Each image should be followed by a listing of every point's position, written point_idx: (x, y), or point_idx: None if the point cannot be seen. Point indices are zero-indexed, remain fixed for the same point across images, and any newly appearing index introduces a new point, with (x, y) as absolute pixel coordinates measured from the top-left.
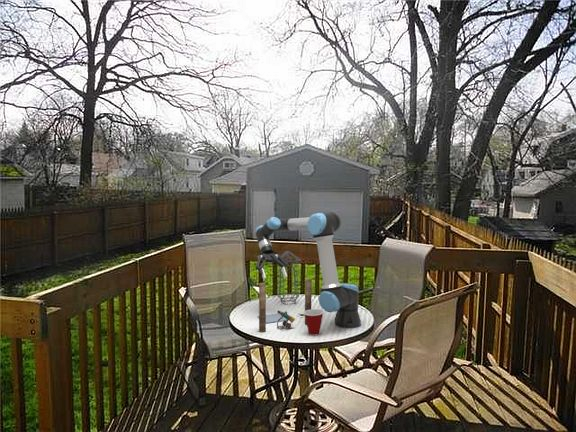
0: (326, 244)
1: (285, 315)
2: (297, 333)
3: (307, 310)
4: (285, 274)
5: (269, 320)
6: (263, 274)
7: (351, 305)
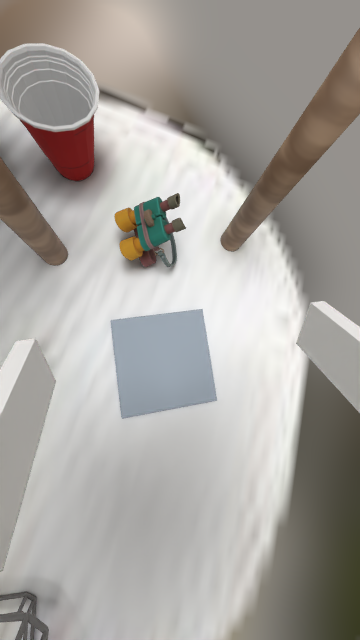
0: None
1: (159, 197)
2: (129, 183)
3: (65, 125)
4: (28, 355)
5: (185, 330)
6: (357, 335)
7: None
